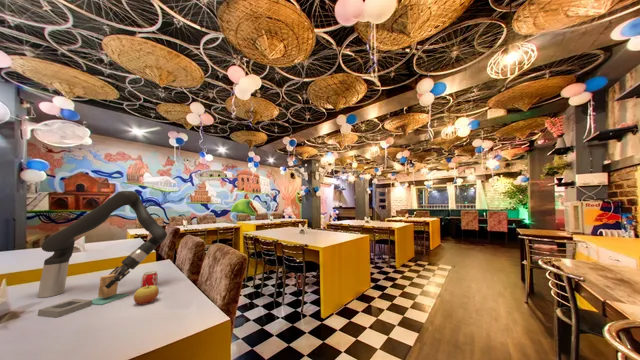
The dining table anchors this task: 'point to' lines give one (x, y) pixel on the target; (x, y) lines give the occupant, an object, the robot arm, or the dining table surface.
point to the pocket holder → (64, 308)
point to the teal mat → (107, 299)
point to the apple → (146, 294)
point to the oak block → (102, 289)
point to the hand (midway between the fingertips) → (104, 286)
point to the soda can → (149, 279)
